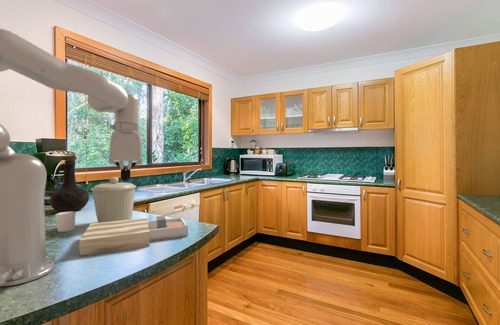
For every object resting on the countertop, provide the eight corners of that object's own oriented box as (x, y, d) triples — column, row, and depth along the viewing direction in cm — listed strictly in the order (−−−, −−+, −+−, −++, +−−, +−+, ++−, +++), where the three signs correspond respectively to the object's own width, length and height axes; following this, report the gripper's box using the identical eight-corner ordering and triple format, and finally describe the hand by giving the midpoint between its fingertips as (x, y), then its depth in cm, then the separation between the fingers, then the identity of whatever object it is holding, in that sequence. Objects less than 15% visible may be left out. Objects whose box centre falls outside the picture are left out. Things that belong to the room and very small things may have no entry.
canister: (96, 220, 120) (95, 176, 119) (138, 216, 126) (137, 174, 125) (87, 231, 103) (85, 179, 102) (135, 226, 109) (134, 178, 108)
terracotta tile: (167, 227, 95) (167, 235, 95) (183, 225, 97) (183, 232, 98) (165, 223, 100) (165, 230, 100) (181, 221, 103) (181, 228, 103)
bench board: (149, 246, 86) (149, 231, 86) (79, 256, 78) (79, 240, 78) (147, 229, 104) (147, 217, 104) (90, 236, 96) (90, 223, 96)
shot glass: (65, 232, 101) (64, 215, 101) (51, 231, 103) (50, 214, 102) (80, 227, 108) (79, 211, 108) (66, 226, 109) (66, 210, 109)
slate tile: (157, 236, 94) (166, 235, 95) (157, 220, 94) (165, 219, 95) (156, 231, 99) (164, 230, 100) (156, 216, 99) (164, 215, 100)
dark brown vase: (51, 216, 128) (49, 161, 127) (48, 210, 141) (47, 160, 140) (92, 210, 140) (91, 160, 139) (86, 205, 153) (84, 159, 152)
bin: (187, 236, 96) (187, 225, 96) (149, 241, 91) (149, 230, 90) (181, 226, 109) (181, 217, 109) (148, 230, 103) (148, 220, 103)
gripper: (100, 126, 84) (99, 181, 84) (149, 129, 89) (148, 181, 89) (104, 129, 91) (103, 180, 90) (149, 131, 96) (147, 179, 96)
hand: (125, 180), depth 90 cm, fingers closed
